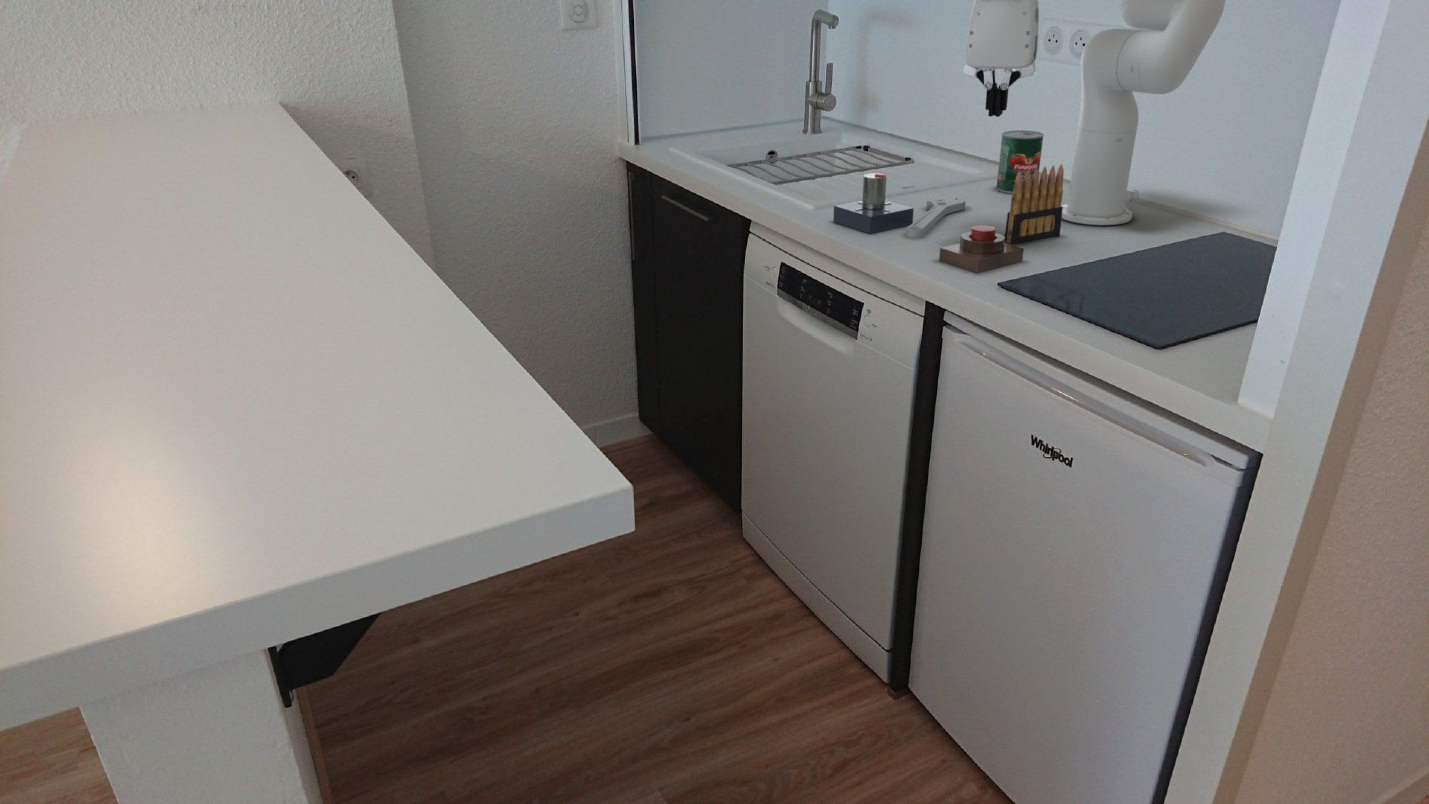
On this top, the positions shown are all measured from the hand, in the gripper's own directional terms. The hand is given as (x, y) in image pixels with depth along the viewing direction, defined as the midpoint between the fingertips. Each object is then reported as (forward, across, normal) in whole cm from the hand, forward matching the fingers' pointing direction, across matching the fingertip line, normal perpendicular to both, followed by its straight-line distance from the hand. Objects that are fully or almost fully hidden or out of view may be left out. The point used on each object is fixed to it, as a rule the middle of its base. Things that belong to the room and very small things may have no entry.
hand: (995, 114), depth 149 cm
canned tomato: (+22, +2, -41) cm, 47 cm away
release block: (+21, -1, +10) cm, 23 cm away
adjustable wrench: (+21, +12, -12) cm, 27 cm away
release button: (+17, -1, +10) cm, 20 cm away
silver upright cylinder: (+18, +21, -6) cm, 28 cm away
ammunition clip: (+21, -7, -5) cm, 23 cm away
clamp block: (+21, +21, -6) cm, 30 cm away
